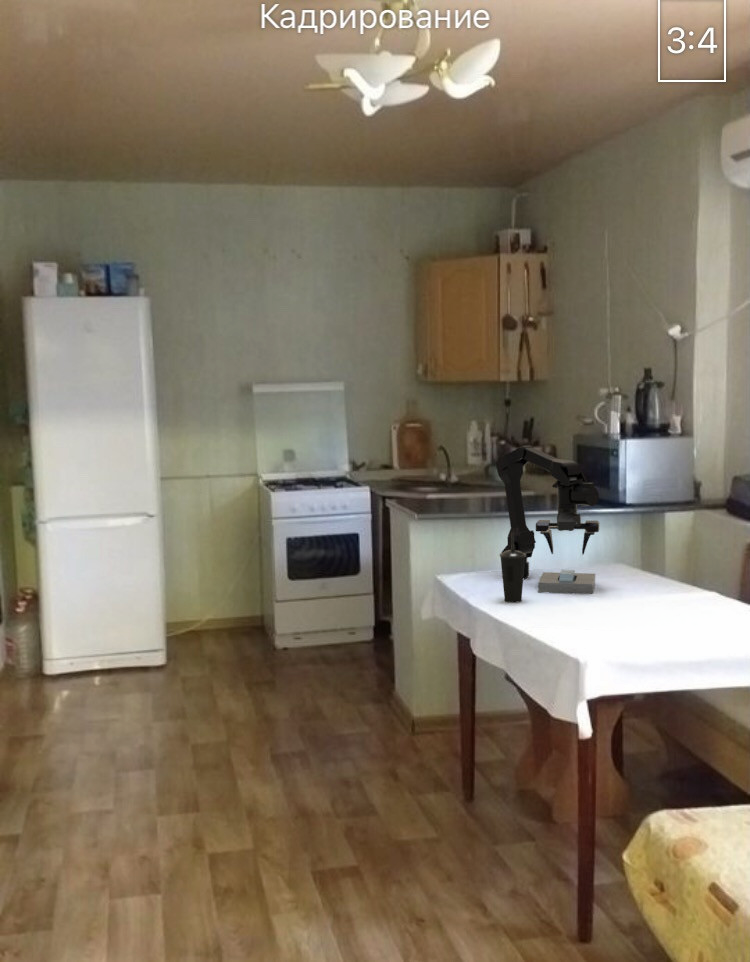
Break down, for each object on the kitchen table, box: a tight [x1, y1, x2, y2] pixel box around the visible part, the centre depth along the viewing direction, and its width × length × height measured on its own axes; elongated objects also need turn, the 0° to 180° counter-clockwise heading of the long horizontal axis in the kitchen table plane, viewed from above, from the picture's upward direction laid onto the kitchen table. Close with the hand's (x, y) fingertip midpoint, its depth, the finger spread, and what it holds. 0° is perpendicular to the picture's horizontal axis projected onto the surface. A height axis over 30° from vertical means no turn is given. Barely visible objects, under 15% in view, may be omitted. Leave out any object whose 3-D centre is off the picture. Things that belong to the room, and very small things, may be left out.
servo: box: [559, 569, 576, 582], centre depth 319 cm, size 4×10×5 cm, turn 165°
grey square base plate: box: [537, 571, 596, 595], centre depth 319 cm, size 16×16×3 cm
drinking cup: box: [499, 532, 526, 603], centre depth 302 cm, size 8×8×20 cm
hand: (567, 554), depth 318 cm, fingers open, 9 cm apart
